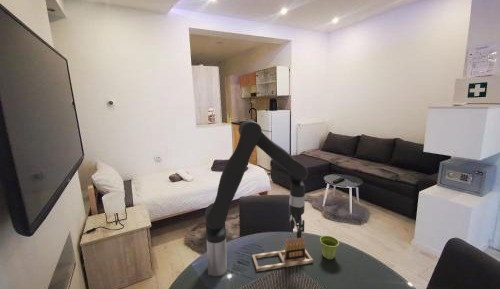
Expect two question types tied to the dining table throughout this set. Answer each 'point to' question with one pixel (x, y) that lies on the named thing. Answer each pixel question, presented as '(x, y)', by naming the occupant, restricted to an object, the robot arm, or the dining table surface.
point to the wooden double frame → (284, 262)
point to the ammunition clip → (295, 248)
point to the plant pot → (329, 246)
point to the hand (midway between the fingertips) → (295, 232)
